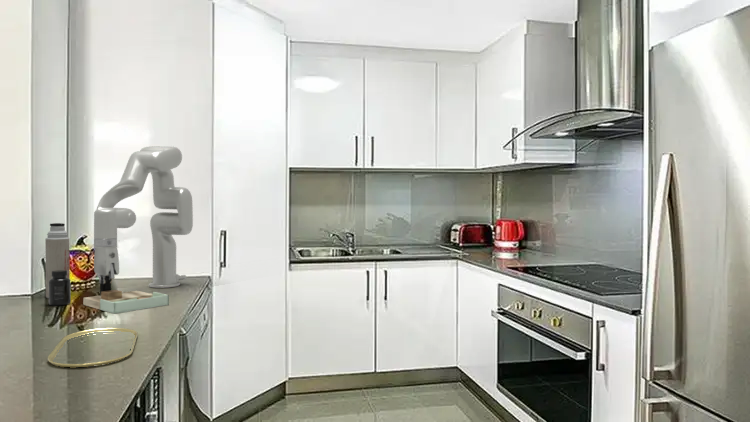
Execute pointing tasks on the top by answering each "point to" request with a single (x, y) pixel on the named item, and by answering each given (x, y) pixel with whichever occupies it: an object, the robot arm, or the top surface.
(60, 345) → the serving platter
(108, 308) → the tray
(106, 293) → the walnut tile
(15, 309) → the top surface
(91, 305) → the maple board
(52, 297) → the supplement bottle
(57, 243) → the thermos bottle
